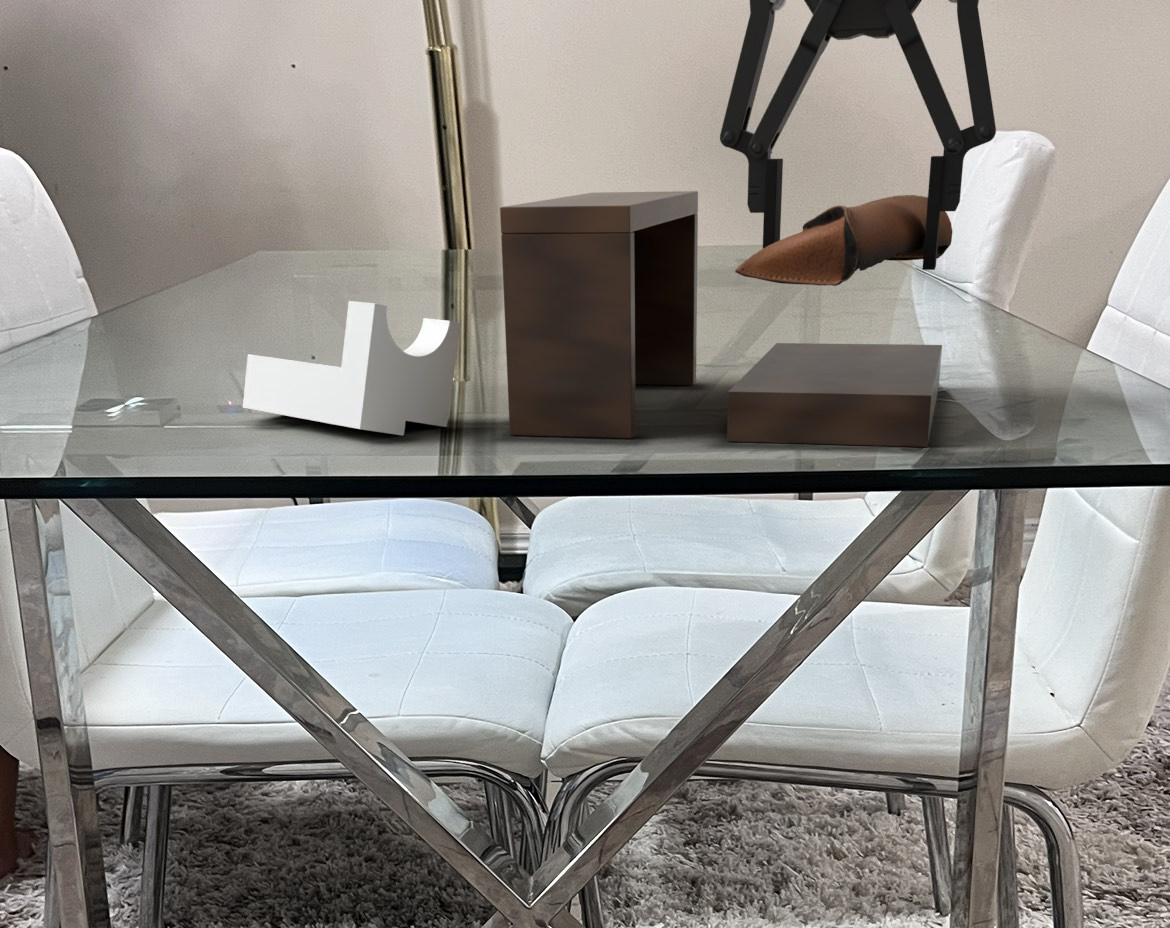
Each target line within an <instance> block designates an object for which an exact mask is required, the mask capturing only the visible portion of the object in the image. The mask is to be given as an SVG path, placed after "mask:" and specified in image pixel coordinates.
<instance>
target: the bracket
mask: <svg viewBox="0 0 1170 928" xmlns="http://www.w3.org/2000/svg"><path fill="white" fill-rule="evenodd" d="M387 306H388V305H384V304H380V303H374V302H364V301H356V300H355V301H353V300H348V304H347V313H346V322H345V331H344V341H343V348H342V357H341V366H335V365H328V364H321V363H315V362H314V363H313V362H307V361H300V360H292V359H285V358H279V357H271V356H264V355H257V354H250V353H248V354H247V359H246V367H245V368H246V369H245V379H244V388H243V389H244V390H243V401H242V409H243V408H244V409H249V410H255V411H260V412H266V413H269V414H270V413H271V414H276V415H281V416H287V417H291V418H298V419H303V420H308V421H314V422H320V423H324V424H329V425H335V426H341V427H345V428H346V427H347V428H351V429H356V430H357V429H358V430H364V431H370V432H376V433H377V432H378V433H384V434H391V435H397V436H404V435H405V429H406V422H411V423H419V424H425V425H431V426H439V427H443V428H444V427H445V428H447V427H448V423H449V415H450V408H451V399H452V393H453V384H454V376H455V370H456V369H455V368H456V361H457V353H458V348H459V347H458V346H459V340H460V332H461V325H462V324H461V322H457V321H453V320H448V319H447V320H446V319H437V318H436V319H435V318H427V317H423V319H422V324H421V328H420V330H419V333H418V335H417V337H416V339H415V340H414V341H413V342H412V344H411V345H409V347H407V348H406V349H404V350H402V349H401V348H400V346H399V345H397V343H396V342H395V339H393V337H392V335H391V331H390V328H389V325H388V317H387V311H388V307H387Z"/></svg>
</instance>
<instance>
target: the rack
mask: <svg viewBox="0 0 1170 928" xmlns="http://www.w3.org/2000/svg"><path fill="white" fill-rule="evenodd" d="M698 212H699V192H698V190H683V191H682V190H681V191H679V190H678V191H677V190H676V191H675V190H674V191H615V192H606V191H605V192H588V193H587V192H586V193H581V194H575V195H568V196H562V197H556V198H550V199H544V200H537V201H530V202H524V203H519V204H512V205H511V204H510V205H505V206H500V207H499V218H500V219H499V220H500V221H499V222H500V236H501V237H500V241H501V243H500V244H501V263H502V265H501V266H502V286H503V287H502V288H503V309H504V331H505V332H504V335H505V351H506V352H505V354H506V355H505V357H506V377H507V378H506V379H507V380H506V381H507V401H508V421H509V422H508V423H509V435H510V436H521V437H522V436H524V437H555V438H556V437H558V438H559V437H562V438H594V439H595V438H596V439H629V440H630V439H633V438H634V437H635V436H636V434H637V432H636V431H637V427H636V424H637V423H636V421H637V419H636V417H637V415H636V385H646V386H647V385H649V386H650V385H651V386H652V385H654V386H656V385H657V386H659V385H660V386H695V384H696V383H697V339H698V338H697V337H698V334H697V331H698V329H697V328H698V324H697V323H698V322H697V321H698V319H697V318H698V245H699V244H698V241H699V240H698V239H699V238H698V235H699V233H698V231H699V230H698V228H699V214H698ZM942 355H943V345H942V344H901V343H900V344H899V343H898V344H894V343H892V344H891V343H890V344H889V343H881V344H880V343H876V344H875V343H812V342H811V343H808V342H807V343H804V342H803V343H801V342H800V343H798V342H791V343H790V342H776V343H775V344H774V345H773V346H772V347H771V348H770V349H769V350H768V351H767V352H766V354H764V355H763V356H762V357H761V358H760V359H759V360H758V361H757V362H756V363H755V364H754V365H753V366H752V367H751V368H750V369H749V370H748V371H747V372H746V373H745V374H744V375H743V376H742V377H741V378H740V379H739V380H738V381H737V382H736V383H735V384H734V385H733V386H732V387H731V388H730V389H729V390H728V392H727V423H726V424H727V425H726V426H727V427H726V428H727V429H726V430H727V431H726V442H730V443H731V442H733V443H770V444H771V443H772V444H802V445H804V444H805V445H810V444H811V445H838V446H839V445H841V446H843V445H844V446H876V447H877V446H878V447H910V448H911V447H912V448H916V447H917V448H928V445H929V441H930V440H929V439H930V435H931V430H932V424H933V420H934V414H935V409H936V403H937V398H938V392H939V389H940V388H939V387H940V376H941V364H942Z"/></svg>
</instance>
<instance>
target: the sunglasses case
mask: <svg viewBox="0 0 1170 928" xmlns="http://www.w3.org/2000/svg"><path fill="white" fill-rule="evenodd" d="M927 203H928V196H923V195H918V194H904V195H901V194H900V195H899V194H898V195H893V196H887V197H883V198H880V199H879V198H878V199H876V200H871V201H868V202H866V203H863V204H859V205H856V206H845V205H842V204H841V205H834V206H831V207H829V208H827V209H826V210H824V211H823V212H821V213H820V214H818V215H816V216H815V217H814V218H811V219H809V220H807V221H806V222H805V223H804V224H803V225H802V231H801V232H798V233H795V234H791V235H790V236H787V237H785V238H782V239H780V240H779V241H777V242H775V243H773V244H771V245H769V246H767V247H765V248H763V247H762V249H760V250H758V251H757V252H755V253H754V254H752V255H751V256H750V257H749V258H748V259H745V260H744V261H743V262H742V263H741V264H740V265H738V267H737V268H735V270H734V272H735V274H738V275H739V276H743V277H745V278H751V279H756V280H761V281H766V282H770V283H776V284H785V285H786V284H787V285H803V286H805V285H807V286H810V285H811V286H823V287H824V286H825V287H826V286H833V287H837V286H840V285H842V283H844V282H846V281H848V280H849V279H850V278H852V276H853V275H854V274H855V272H856V271H858V270H859V271H860V272H861V271H865V270H867V269H868V268H873V267H874V266H876V265H878V264H881V263H883V262H884V261H898V262H899V261H902V262H903V261H918V260H923V255H924V242H925V229H926V216H927ZM952 226H953V225H952V222H951V219H950V216H949V215H948V213H947V211H940V223H939V235H938V248H937V259H939V258H941V257H942V256H944V254H945V252H946V251H947V250H948V249H949V247H951V245H952V241H953V240H952V239H953V227H952Z"/></svg>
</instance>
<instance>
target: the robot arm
mask: <svg viewBox="0 0 1170 928" xmlns="http://www.w3.org/2000/svg"><path fill="white" fill-rule="evenodd" d="M803 1H804V3H805V4H806V6H807V8H808V10H809V11H810V12H811V14H812V15H811V17H810V20H809V22H808V24H807V26H806V28H805V30H804V32H803V33H802V36H801V38H800V41H799V44H798V46H797V48H796V50H795V52H794V54H793V55H792V58H791V60H790V62H789V64H788V66H787V67H786V70H785V71H784V73H783V76H782V77H781V80H780V81H779V83H778V85H777V87H776V90H775V91H774V93H773V95H772V97H771V99H770V101H769V102H768V103H769V104H768V105H767V107H766V109H765V111H764V113H763V115H762V117H761V119H760V121H759V123H758V125H757V127H756V129H755V131H754V132H752V131H748V127H749V122H750V119H751V114H752V111H753V107H754V103H755V100H756V95H757V92H758V88H759V83H760V81H761V75H762V71H763V68H764V64H765V60H766V57H767V52H768V48H769V45H770V41H771V38H772V33H773V28H774V23H775V17H776V12H777V11H780V10H783V8H784V7H785V5H786V4H787V0H749V12H750V14H749V16H748V17H749V18H748V20H747V21H748V22H747V25H746V30H745V34H744V38H743V41H742V45H741V50H740V52H739V58H738V62H737V66H736V70H735V73H734V78H733V81H732V86H731V89H730V94H729V98H728V102H727V105H726V109H725V110H726V111H725V113H724V118H723V122H722V126H721V128H720V129H721V130H720V134H719V141H720V143H721V144H722V146H723V147H725V148H729V149H732V150H734V151H736V152H739V153H742V154H743V155H744V156H745V158H746V160H747V163H748V166H747V167H748V169H747V208H748V210H749V213H750V214H763V224H762V225H763V226H762V229H763V230H762V249H763V248H765V247H767V246H769V245H771V244H773V243H775V242H777V241H779V240H781V223H782V197H783V172H784V171H783V170H784V158H772V153H773V150H774V148H775V146H776V143H777V141H778V140H779V137H780V136H781V133H782V132H783V130H784V128H785V126H786V125H787V122H788V121H789V118H790V116H791V114H792V112H793V110H794V109H795V107H796V105H797V103H798V101H799V99H800V97H801V95H802V94H803V91H804V90H805V87H806V85H807V83H808V82H809V80H810V77H811V75H812V74H813V72H814V69H815V68H816V66H817V64H818V63H819V61H820V59H821V56H822V55H823V53H824V52H825V51H826V48H827V47H828V45H829V43H830V41H831V39H832V38H833V39H835V40H836V41H849V40H853V39H856V38H859V37H862V36H864V37H868V38H872V39H875V40H876V39H877V40H878V39H879V40H880V39H889V38H891V37H892V36H894V35H895V37H896V39H897V41H898V44H899V46H900V48H901V50H902V53H903V55H904V58H905V60H906V62H907V64H908V67H909V69H910V72H911V74H912V76H913V79H914V81H915V83H916V86H917V88H918V90H919V93H920V95H921V98H922V100H923V102H924V105H925V107H926V109H927V112H928V113H929V116H930V118H931V121H932V123H933V125H934V128H935V130H936V133H937V134H938V137H939V139H940V140H939V141H940V143H941V145H942V146H943V154H942V155H932V156H930V163H929V164H930V165H929V167H930V168H929V175H928V177H929V179H928V190H927V191H928V192H927V197H928V203H927V216H926V229H925V242H924V255H923V259H922V271H936V268H937V259H938V258H937V248H938V235H939V223H940V211H945V212H956V211H957V209H958V207H959V204H960V202H961V193H962V192H961V191H962V183H963V182H962V178H963V169H964V160H965V156H966V154H967V153H968V152H969V151H970V150H972V149H974V148H977V147H980V146H982V145H984V144H987V143H989V142H991V141H992V140H993V139H994V138H995V136H996V134H997V127H996V121H995V120H996V119H995V114H994V105H993V99H992V93H991V85H990V80H989V74H988V67H987V59H986V53H985V47H984V39H983V32H982V25H981V20H980V11H979V2H980V0H947V1H948V2H949V3H950V4H956V14H957V15H956V17H957V23H958V30H959V37H960V43H961V50H962V56H963V64H964V69H965V76H966V83H967V90H968V95H969V101H970V108H971V114H972V121H973V125H971V126H969V127H967V128H964V129H961V128H960V125H959V123H958V120H957V118H956V116H955V113H954V111H953V109H952V107H951V104H950V101H949V99H948V97H947V95H946V92H945V90H944V87H943V85H942V83H941V81H940V78H939V75H938V72H937V71H936V68H935V66H934V63H933V62H932V59H931V56H930V54H929V52H928V50H927V47H926V45H925V42H924V40H923V37H922V35H921V33H920V30H919V28H918V25H917V23H916V21H915V18H914V16H913V14H914V13H915V11H916V10H917V8H918V7H919V5H920V4H921V2H922V1H923V0H803Z"/></svg>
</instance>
